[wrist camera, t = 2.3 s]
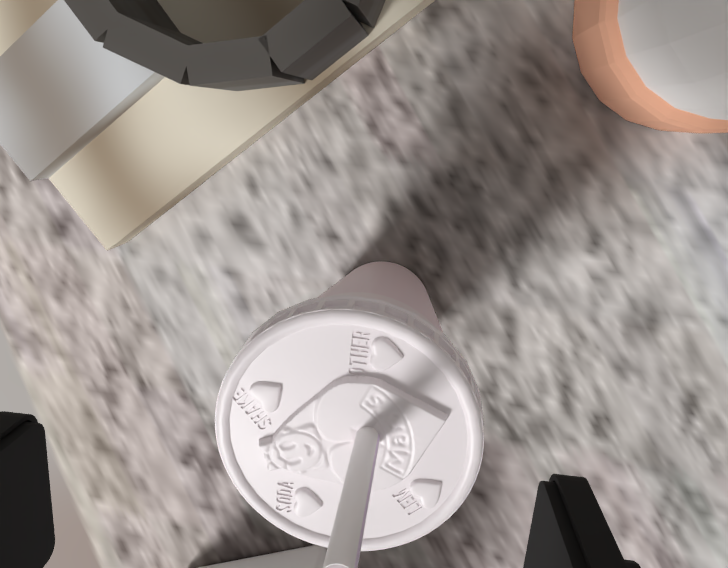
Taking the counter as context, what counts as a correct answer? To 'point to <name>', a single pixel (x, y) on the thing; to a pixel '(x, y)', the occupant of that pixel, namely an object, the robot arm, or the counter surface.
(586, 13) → the pepper shaker
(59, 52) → the socket rail
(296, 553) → the medicine bottle
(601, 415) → the counter surface
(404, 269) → the smoothie
